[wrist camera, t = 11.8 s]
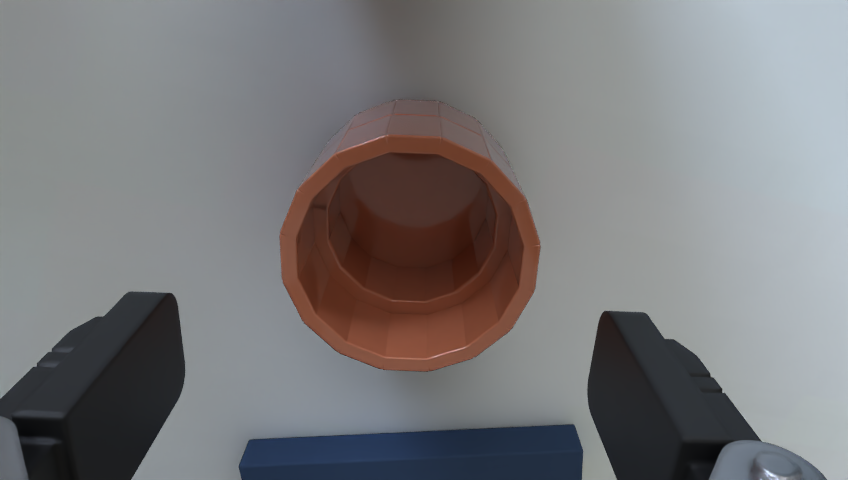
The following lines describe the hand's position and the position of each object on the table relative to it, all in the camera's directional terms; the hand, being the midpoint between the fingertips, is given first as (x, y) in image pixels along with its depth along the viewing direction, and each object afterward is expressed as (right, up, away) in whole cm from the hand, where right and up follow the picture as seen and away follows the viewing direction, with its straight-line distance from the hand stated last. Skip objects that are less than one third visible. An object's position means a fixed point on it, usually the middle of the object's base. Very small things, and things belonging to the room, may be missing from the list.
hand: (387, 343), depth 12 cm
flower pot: (0, +3, +7) cm, 8 cm away
